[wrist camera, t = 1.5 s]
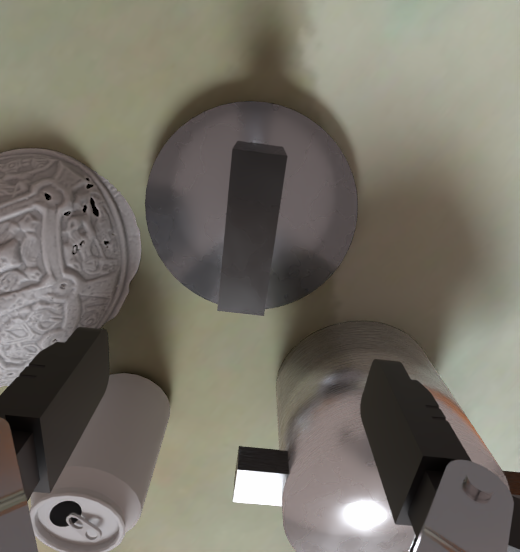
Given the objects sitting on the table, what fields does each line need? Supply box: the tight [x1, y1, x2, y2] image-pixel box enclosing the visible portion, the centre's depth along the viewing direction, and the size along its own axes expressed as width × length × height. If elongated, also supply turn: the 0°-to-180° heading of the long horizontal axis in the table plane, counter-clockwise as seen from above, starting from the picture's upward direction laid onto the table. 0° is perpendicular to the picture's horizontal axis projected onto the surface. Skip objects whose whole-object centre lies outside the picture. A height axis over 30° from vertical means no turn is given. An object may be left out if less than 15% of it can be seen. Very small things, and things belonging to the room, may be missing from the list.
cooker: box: [233, 321, 520, 552], centre depth 30 cm, size 14×20×12 cm
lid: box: [145, 101, 358, 316], centre depth 26 cm, size 15×15×7 cm
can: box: [30, 373, 170, 552], centre depth 30 cm, size 8×8×12 cm
